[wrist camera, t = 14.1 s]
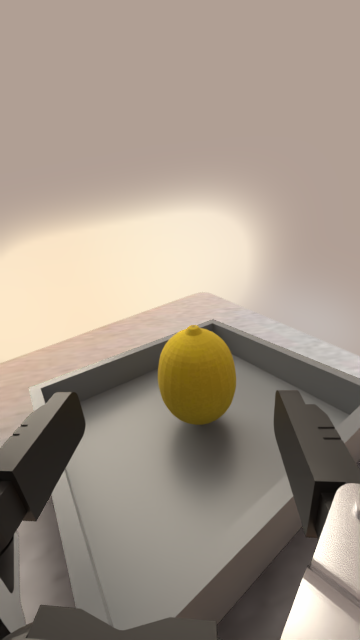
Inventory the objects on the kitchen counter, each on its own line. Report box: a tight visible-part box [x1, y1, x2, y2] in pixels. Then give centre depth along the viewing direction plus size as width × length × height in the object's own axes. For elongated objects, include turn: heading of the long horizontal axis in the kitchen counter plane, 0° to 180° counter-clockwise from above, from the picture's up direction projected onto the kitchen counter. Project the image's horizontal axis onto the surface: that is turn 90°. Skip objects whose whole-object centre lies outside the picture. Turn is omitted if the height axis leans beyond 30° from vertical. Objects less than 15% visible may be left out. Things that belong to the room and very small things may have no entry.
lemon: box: [158, 325, 236, 425], centre depth 18 cm, size 6×6×8 cm
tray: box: [29, 319, 360, 630], centre depth 20 cm, size 18×20×4 cm
